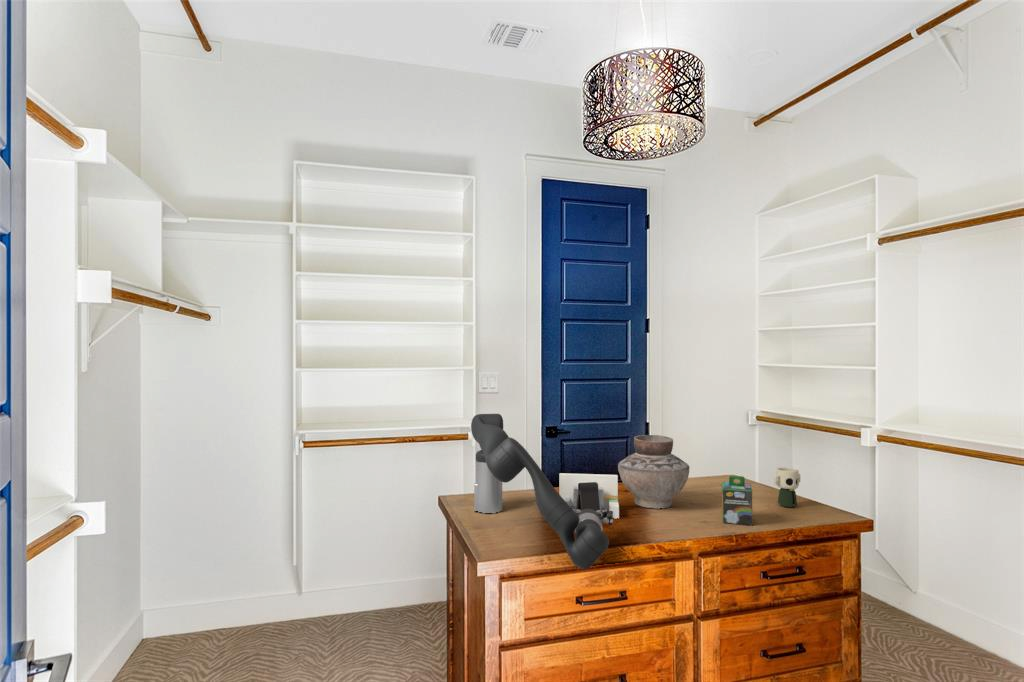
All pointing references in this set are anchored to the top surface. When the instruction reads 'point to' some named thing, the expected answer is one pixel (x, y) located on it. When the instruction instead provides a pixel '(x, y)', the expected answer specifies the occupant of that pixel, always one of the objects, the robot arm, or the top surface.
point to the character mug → (787, 485)
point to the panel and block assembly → (604, 481)
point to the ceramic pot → (653, 472)
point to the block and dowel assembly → (600, 493)
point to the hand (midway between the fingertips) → (588, 509)
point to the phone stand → (588, 496)
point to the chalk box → (737, 501)
